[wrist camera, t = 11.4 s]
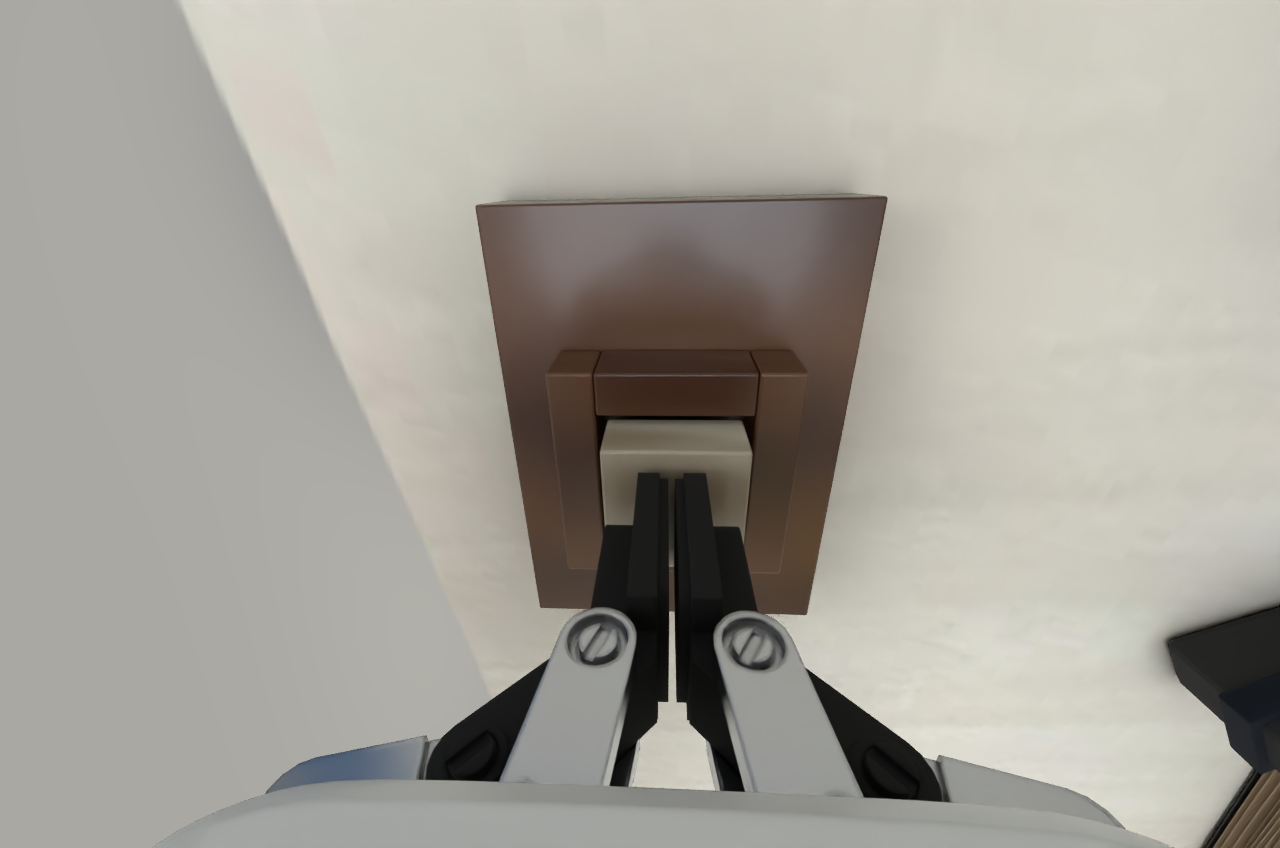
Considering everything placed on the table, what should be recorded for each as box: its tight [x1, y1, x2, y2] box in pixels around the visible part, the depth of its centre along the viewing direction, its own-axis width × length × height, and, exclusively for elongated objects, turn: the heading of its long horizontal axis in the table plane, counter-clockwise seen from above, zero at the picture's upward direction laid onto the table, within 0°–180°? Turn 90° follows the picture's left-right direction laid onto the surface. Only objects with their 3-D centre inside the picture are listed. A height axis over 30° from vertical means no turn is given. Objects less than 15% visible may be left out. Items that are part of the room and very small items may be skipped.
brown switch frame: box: [476, 194, 887, 615], centre depth 15 cm, size 14×10×4 cm
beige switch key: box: [600, 420, 753, 567], centre depth 13 cm, size 4×4×2 cm
